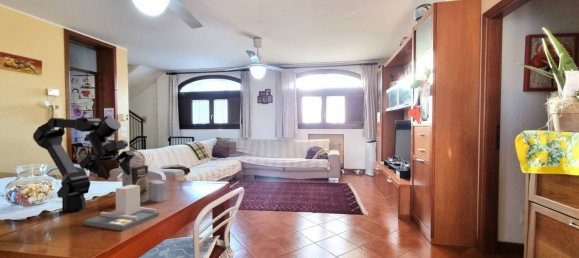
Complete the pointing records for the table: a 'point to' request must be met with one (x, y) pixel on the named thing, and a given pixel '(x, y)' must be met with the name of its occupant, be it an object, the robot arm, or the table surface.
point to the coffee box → (137, 179)
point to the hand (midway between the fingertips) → (119, 177)
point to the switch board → (122, 219)
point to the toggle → (128, 199)
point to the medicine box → (157, 191)
